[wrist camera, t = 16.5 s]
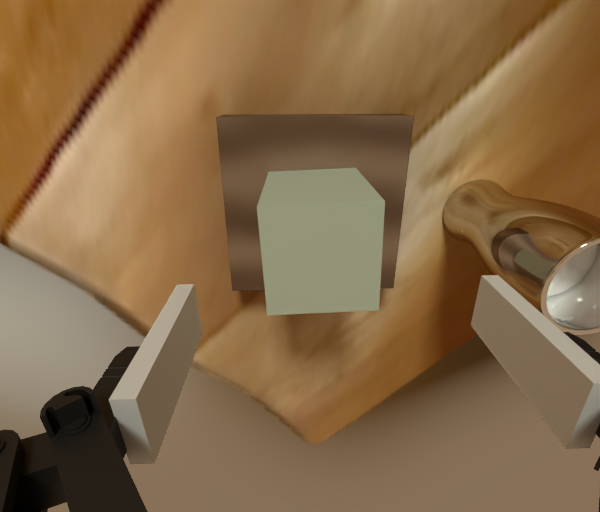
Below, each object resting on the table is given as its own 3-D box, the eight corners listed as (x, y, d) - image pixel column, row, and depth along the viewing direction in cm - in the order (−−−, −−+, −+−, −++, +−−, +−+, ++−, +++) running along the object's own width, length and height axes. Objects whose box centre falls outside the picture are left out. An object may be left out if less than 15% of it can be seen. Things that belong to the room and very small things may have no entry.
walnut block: (225, 114, 30) (216, 117, 27) (399, 113, 31) (414, 116, 27) (238, 271, 36) (232, 290, 33) (383, 269, 37) (393, 288, 33)
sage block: (268, 171, 28) (256, 207, 19) (355, 167, 28) (385, 201, 19) (274, 251, 31) (267, 315, 22) (354, 247, 31) (378, 310, 22)
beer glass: (467, 161, 32) (601, 209, 18) (526, 194, 33) (692, 262, 20) (423, 226, 34) (512, 313, 21) (480, 255, 36) (598, 353, 22)
